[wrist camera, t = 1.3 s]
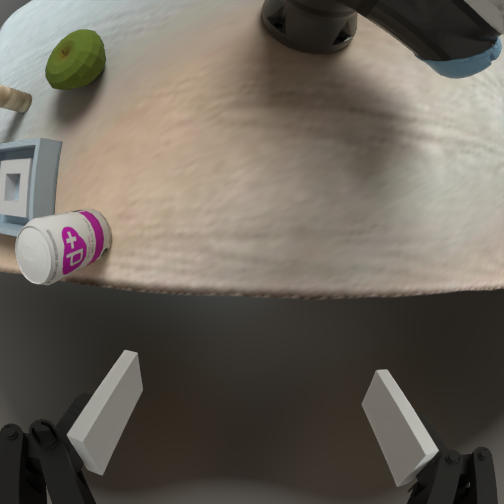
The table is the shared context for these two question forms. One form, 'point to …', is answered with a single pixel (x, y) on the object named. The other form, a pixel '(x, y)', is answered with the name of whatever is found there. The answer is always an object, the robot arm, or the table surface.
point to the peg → (14, 99)
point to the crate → (27, 182)
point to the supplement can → (61, 244)
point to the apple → (76, 60)
